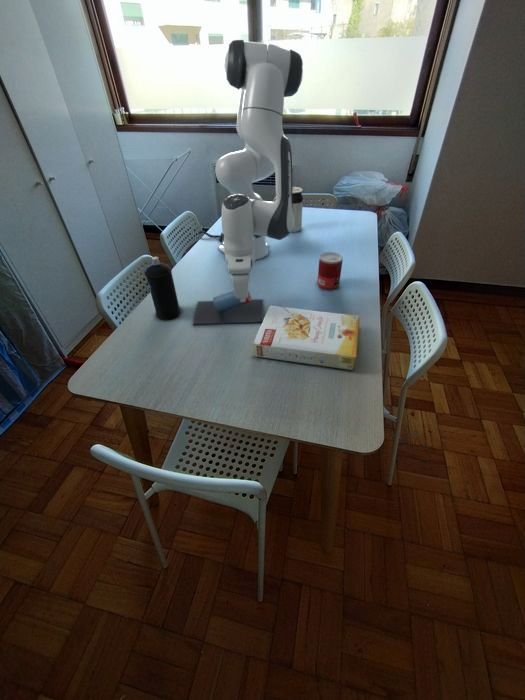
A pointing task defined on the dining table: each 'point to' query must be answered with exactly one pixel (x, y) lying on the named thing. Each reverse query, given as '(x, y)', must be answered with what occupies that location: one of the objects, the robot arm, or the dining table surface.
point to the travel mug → (297, 208)
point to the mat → (228, 314)
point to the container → (228, 301)
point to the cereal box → (308, 337)
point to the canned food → (329, 270)
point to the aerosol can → (162, 290)
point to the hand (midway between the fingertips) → (243, 294)
